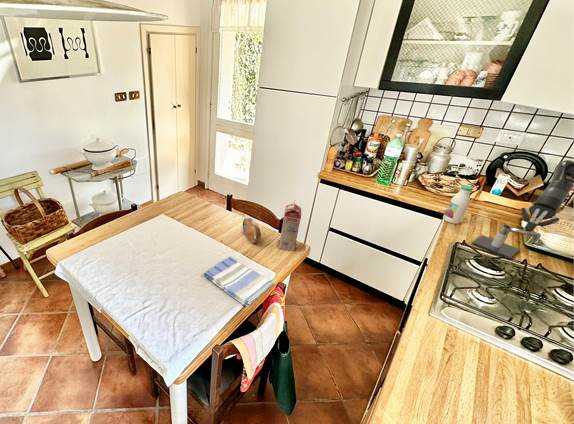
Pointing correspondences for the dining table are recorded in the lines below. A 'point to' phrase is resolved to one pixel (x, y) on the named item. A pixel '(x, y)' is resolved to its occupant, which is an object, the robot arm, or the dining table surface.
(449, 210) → the milk bottle
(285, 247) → the juice carton
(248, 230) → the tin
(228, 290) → the dish towel
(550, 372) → the dining table surface
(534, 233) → the spout
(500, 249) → the faucet base
